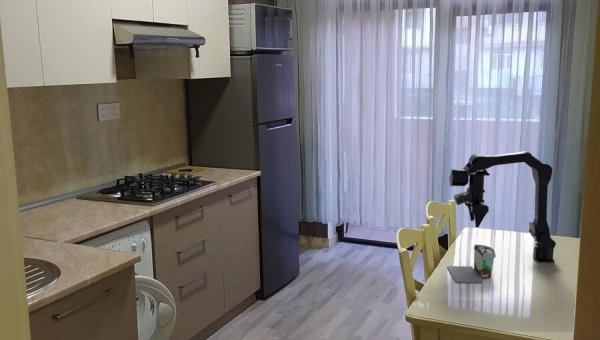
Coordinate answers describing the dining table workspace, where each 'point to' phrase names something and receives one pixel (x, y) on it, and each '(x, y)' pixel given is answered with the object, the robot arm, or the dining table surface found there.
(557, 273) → the dining table surface
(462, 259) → the dining table surface
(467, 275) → the grey rubber mat
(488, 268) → the food container
